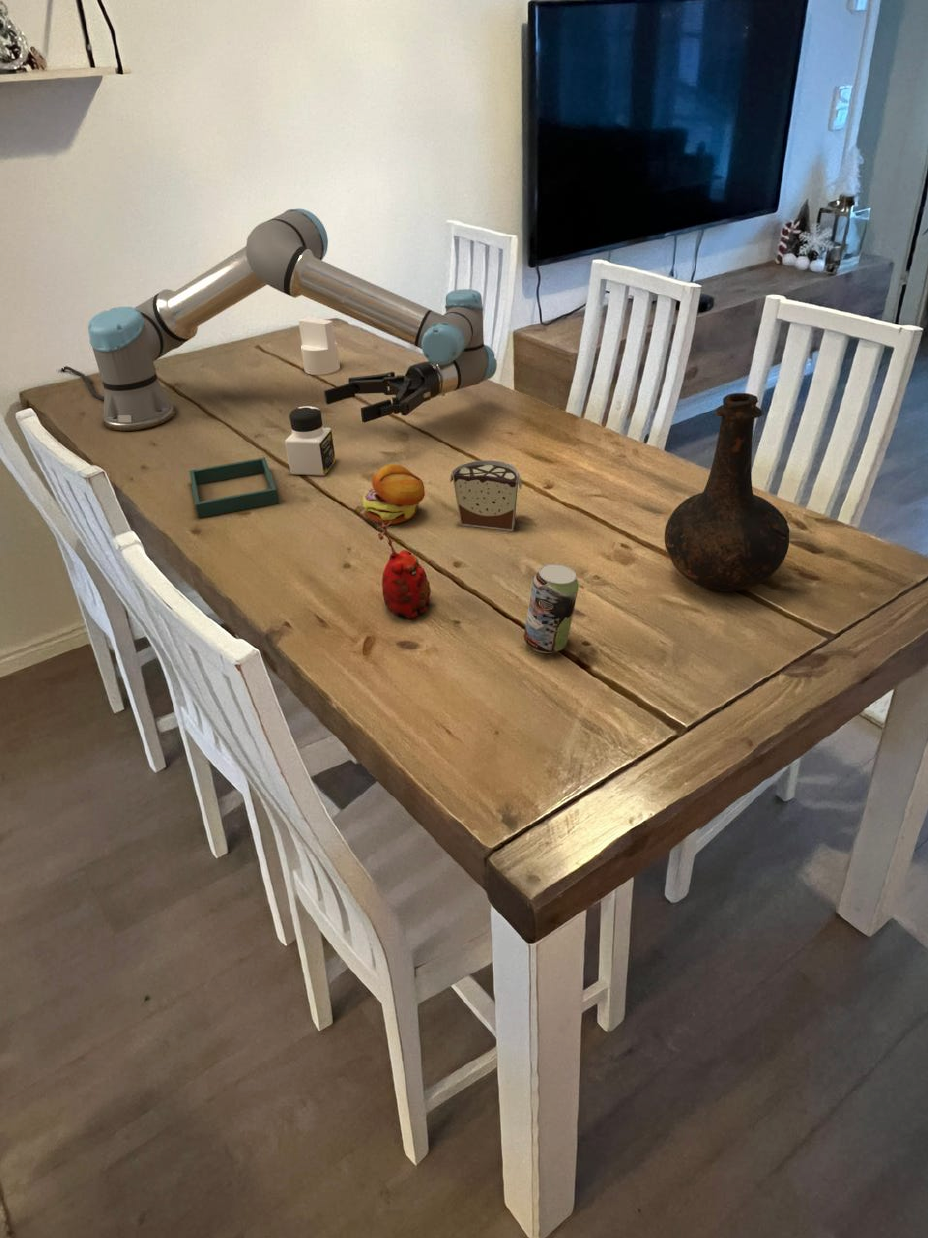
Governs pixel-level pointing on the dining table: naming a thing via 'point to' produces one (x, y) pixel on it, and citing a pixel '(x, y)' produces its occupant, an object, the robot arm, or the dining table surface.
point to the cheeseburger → (393, 495)
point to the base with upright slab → (318, 346)
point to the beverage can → (551, 608)
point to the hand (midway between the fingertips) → (343, 406)
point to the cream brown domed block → (486, 494)
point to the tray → (234, 501)
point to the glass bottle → (729, 514)
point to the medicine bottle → (309, 443)
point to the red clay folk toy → (404, 582)
